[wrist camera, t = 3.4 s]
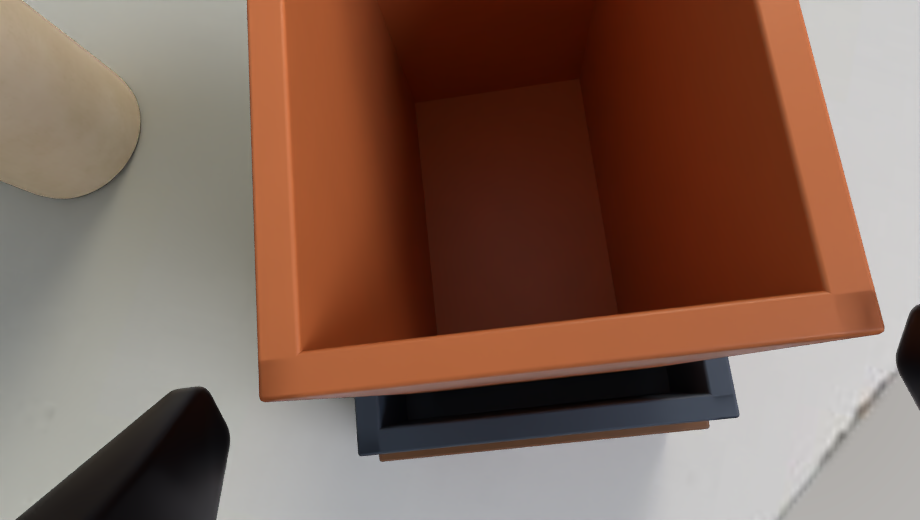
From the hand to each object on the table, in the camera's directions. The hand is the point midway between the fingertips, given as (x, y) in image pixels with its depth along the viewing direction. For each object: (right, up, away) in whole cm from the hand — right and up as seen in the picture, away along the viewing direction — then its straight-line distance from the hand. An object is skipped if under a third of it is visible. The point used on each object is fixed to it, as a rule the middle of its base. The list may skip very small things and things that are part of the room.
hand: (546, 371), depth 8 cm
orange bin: (0, +2, +8) cm, 8 cm away
